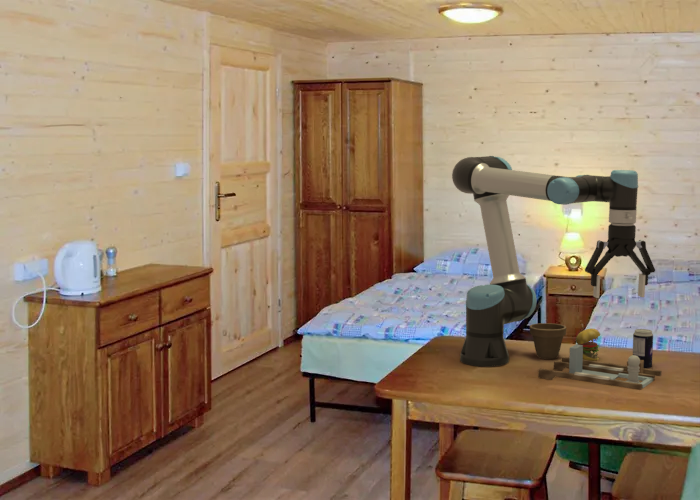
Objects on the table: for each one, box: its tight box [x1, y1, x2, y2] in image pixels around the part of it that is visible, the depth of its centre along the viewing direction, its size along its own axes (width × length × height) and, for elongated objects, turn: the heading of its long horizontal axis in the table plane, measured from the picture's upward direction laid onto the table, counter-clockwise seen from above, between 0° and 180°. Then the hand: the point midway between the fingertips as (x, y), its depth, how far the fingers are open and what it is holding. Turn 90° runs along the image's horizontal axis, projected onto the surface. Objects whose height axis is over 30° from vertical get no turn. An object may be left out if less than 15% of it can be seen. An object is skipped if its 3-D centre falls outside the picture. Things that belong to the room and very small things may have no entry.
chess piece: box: [625, 354, 642, 383], centre depth 254 cm, size 5×5×9 cm
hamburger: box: [575, 324, 601, 361], centre depth 281 cm, size 8×7×12 cm
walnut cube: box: [626, 360, 644, 373], centre depth 262 cm, size 4×4×4 cm
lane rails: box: [537, 356, 662, 391], centre depth 263 cm, size 30×18×3 cm, turn 54°
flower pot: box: [529, 322, 567, 360], centre depth 288 cm, size 12×11×10 cm
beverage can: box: [632, 328, 654, 369], centre depth 271 cm, size 6×6×12 cm
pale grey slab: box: [568, 343, 654, 390], centre depth 258 cm, size 22×9×9 cm, turn 54°
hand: (618, 296), depth 263 cm, fingers open, 13 cm apart
